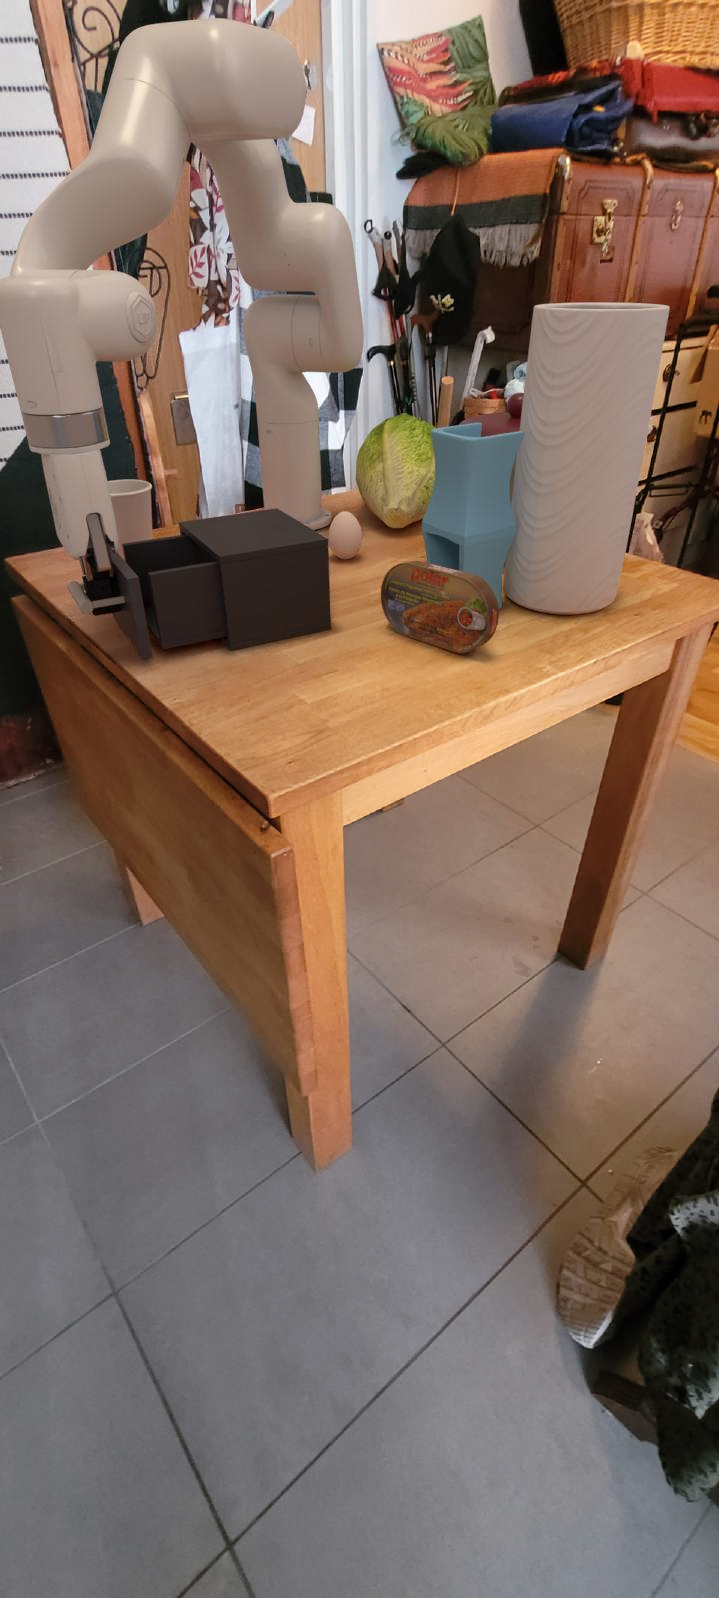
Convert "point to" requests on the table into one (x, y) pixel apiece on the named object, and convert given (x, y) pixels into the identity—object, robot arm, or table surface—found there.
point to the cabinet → (267, 575)
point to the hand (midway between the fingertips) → (106, 610)
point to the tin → (439, 606)
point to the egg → (345, 535)
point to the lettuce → (397, 470)
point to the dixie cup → (131, 510)
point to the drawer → (163, 594)
